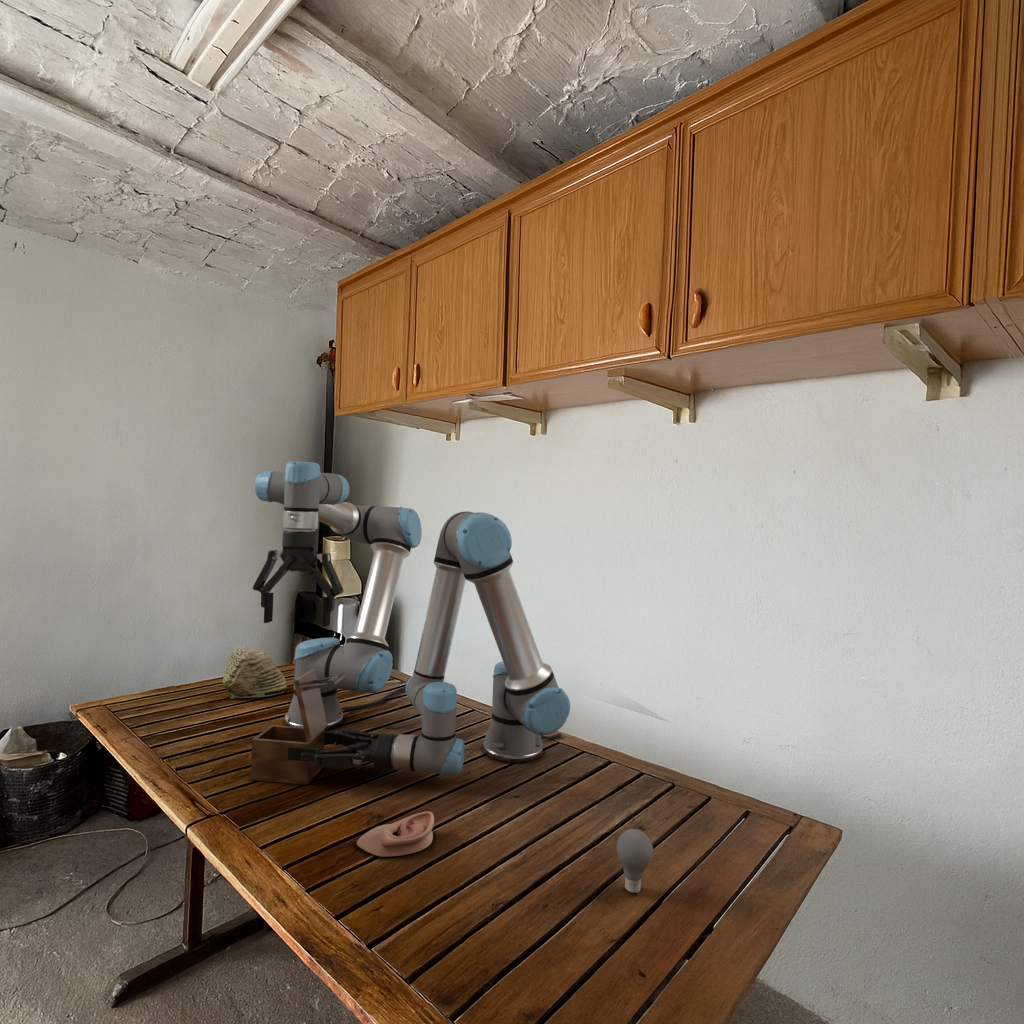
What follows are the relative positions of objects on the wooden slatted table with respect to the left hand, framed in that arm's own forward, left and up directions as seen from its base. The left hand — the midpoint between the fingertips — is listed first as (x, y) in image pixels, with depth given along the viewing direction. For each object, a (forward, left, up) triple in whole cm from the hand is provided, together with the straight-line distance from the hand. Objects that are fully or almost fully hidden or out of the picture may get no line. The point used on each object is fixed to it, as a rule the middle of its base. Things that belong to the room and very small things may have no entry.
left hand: (297, 624), depth 143 cm
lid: (-2, +3, -18) cm, 18 cm away
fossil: (-23, -57, -34) cm, 71 cm away
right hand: (-1, +1, -27) cm, 27 cm away
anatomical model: (+3, +39, -34) cm, 52 cm away
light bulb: (-14, +79, -34) cm, 87 cm away
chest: (0, -1, -34) cm, 34 cm away
